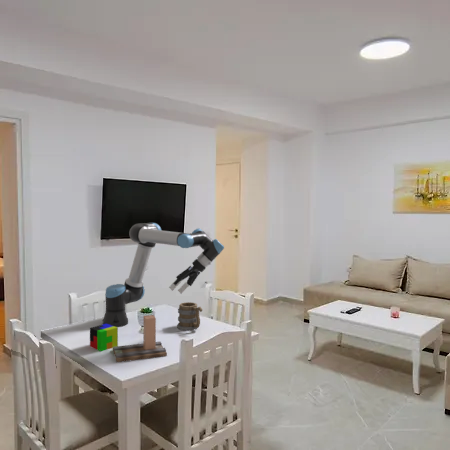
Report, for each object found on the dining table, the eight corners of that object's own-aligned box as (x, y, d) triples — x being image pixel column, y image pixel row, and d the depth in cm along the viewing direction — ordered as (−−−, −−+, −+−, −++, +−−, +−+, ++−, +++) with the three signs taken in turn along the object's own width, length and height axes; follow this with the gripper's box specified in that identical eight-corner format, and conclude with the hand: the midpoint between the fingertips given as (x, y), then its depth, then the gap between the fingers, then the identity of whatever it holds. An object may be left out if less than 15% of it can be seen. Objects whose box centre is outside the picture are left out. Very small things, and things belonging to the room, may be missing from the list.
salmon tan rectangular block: (153, 346, 211) (153, 314, 210) (155, 349, 206) (155, 317, 205) (143, 347, 209) (143, 315, 208) (145, 351, 204) (145, 318, 203)
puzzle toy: (106, 341, 221) (106, 323, 221) (117, 346, 215) (117, 327, 214) (89, 346, 214) (89, 327, 213) (101, 351, 207) (101, 332, 207)
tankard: (173, 326, 250) (173, 301, 249) (191, 322, 257) (191, 299, 256) (191, 335, 234) (191, 309, 233) (209, 331, 241) (209, 306, 240)
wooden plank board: (159, 345, 217) (159, 340, 217) (166, 355, 203) (166, 350, 202) (112, 350, 209) (112, 345, 208) (116, 362, 194) (116, 357, 194)
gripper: (199, 263, 217) (171, 292, 216) (212, 271, 240) (187, 297, 239) (189, 253, 219) (162, 282, 219) (203, 262, 243) (178, 288, 242)
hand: (175, 290), depth 229 cm, fingers open, 13 cm apart
